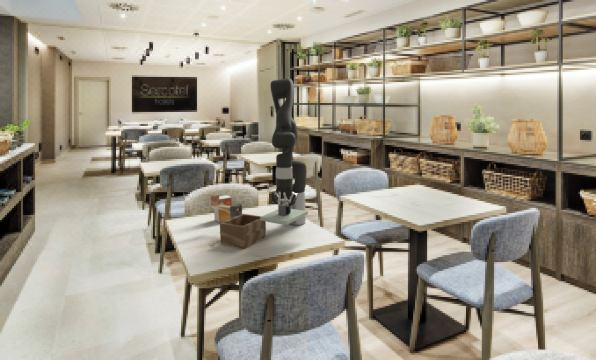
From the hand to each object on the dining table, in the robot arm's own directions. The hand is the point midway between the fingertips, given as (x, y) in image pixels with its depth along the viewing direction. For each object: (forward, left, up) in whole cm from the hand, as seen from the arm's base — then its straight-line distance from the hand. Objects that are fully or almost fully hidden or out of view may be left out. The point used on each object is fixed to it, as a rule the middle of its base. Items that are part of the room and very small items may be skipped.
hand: (284, 213), depth 194 cm
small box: (-14, -48, -14) cm, 52 cm away
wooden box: (+8, -19, -13) cm, 25 cm away
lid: (0, 0, -2) cm, 2 cm away
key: (+2, -33, -2) cm, 33 cm away
